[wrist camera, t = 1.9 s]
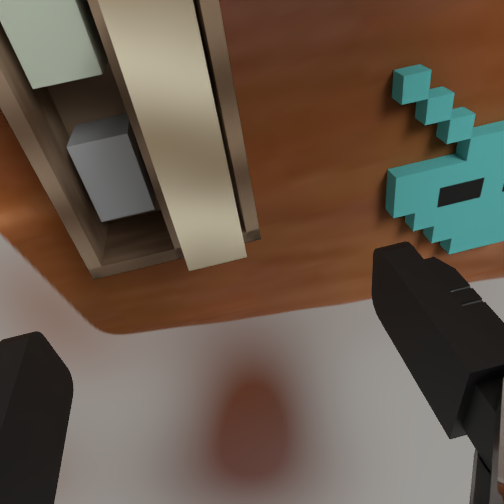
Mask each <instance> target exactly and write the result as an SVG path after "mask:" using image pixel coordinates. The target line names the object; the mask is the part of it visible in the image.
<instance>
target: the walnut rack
mask: <svg viewBox="0 0 504 504" xmlns="http://www.w3.org/2000/svg"><path fill="white" fill-rule="evenodd" d="M87 1H88V3H89V6H90V9H91V12H92V15H93V18H94V20H95V23H96V26H97V29H98V32H99V35H100V38H101V40H102V43H103V46H104V49H105V52H106V55H107V58H108V60H107V63H106V66H105V69H104V71H103V74H101V75H97V76H92V77H87V78H83V79H78V80H73V81H69V82H64V83H60V84H55V85H50V86H46V87H41V88H36V89H33V88H32V86H31V84H30V82H29V80H28V78H27V76H26V74H25V72H24V70H23V68H22V65H21V63H20V61H19V59H18V57H17V55H16V53H15V51H14V49H13V47H12V45H11V42H10V40H9V38H8V36H7V34H6V32H5V30H4V28H3V26H2V24H1V22H0V108H1V110H2V112H3V114H4V115H5V117H6V119H7V121H8V123H9V125H10V126H11V128H12V130H13V132H14V134H15V136H16V137H17V139H18V141H19V143H20V145H21V147H22V149H23V150H24V152H25V154H26V156H27V158H28V160H29V161H30V163H31V165H32V167H33V169H34V171H35V172H36V174H37V176H38V178H39V180H40V182H41V183H42V185H43V187H44V189H45V191H46V193H47V194H48V196H49V198H50V200H51V202H52V204H53V206H54V207H55V209H56V211H57V213H58V215H59V217H60V218H61V220H62V222H63V224H64V226H65V228H66V229H67V231H68V233H69V235H70V237H71V239H72V240H73V242H74V244H75V246H76V248H77V250H78V251H79V253H80V255H81V257H82V259H83V261H84V263H85V264H86V266H87V268H88V270H89V272H90V274H91V275H92V277H93V279H97V278H102V277H106V276H110V275H114V274H118V273H122V272H127V271H131V270H135V269H139V268H143V267H147V266H152V265H156V264H160V263H164V262H168V261H172V260H177V259H181V258H184V255H183V252H182V249H181V246H180V243H179V240H178V237H177V234H176V231H175V228H174V225H173V222H172V219H171V216H170V213H169V210H168V207H167V204H166V201H165V198H164V195H163V192H162V189H161V186H160V183H159V180H158V177H157V175H156V172H155V169H154V166H153V163H152V160H151V157H150V154H149V151H148V148H147V145H146V142H145V139H144V136H143V133H142V130H141V127H140V124H139V121H138V118H137V115H136V112H135V109H134V106H133V103H132V100H131V97H130V94H129V91H128V89H127V86H126V83H125V80H124V77H123V74H122V71H121V68H120V65H119V62H118V59H117V56H116V53H115V50H114V47H113V44H112V41H111V38H110V35H109V32H108V29H107V26H106V23H105V20H104V17H103V14H102V11H101V8H100V5H99V3H98V0H87ZM193 3H194V8H195V13H196V18H197V22H198V27H199V32H200V36H201V41H202V46H203V51H204V55H205V60H206V65H207V70H208V74H209V79H210V84H211V89H212V93H213V98H214V103H215V108H216V112H217V117H218V122H219V126H220V131H221V136H222V141H223V145H224V150H225V155H226V160H227V164H228V169H229V174H230V179H231V183H232V188H233V193H234V197H235V202H236V207H237V212H238V216H239V221H240V226H241V231H242V235H243V240H244V243H247V242H252V241H256V240H260V239H261V236H260V230H259V225H258V219H257V213H256V208H255V202H254V196H253V191H252V185H251V179H250V174H249V168H248V162H247V157H246V151H245V145H244V140H243V134H242V128H241V123H240V117H239V111H238V106H237V100H236V94H235V89H234V83H233V77H232V72H231V66H230V60H229V55H228V49H227V44H226V38H225V32H224V27H223V21H222V15H221V10H220V4H219V0H193ZM126 113H127V115H128V117H129V120H130V123H131V126H132V129H133V132H134V134H135V137H136V140H137V143H138V146H139V149H140V152H141V154H142V157H143V160H144V163H145V166H146V169H147V171H148V174H149V177H150V180H151V183H152V186H153V189H154V191H155V210H151V211H146V212H142V213H138V214H134V215H129V216H125V217H121V218H116V219H112V220H108V221H104V222H101V220H100V218H99V215H98V213H97V211H96V209H95V207H94V205H93V203H92V201H91V198H90V196H89V194H88V192H87V190H86V188H85V186H84V184H83V181H82V179H81V177H80V175H79V173H78V171H77V169H76V167H75V164H74V162H73V160H72V158H71V156H70V154H69V152H68V149H67V144H68V142H69V139H70V137H71V134H72V132H73V130H74V127H75V125H77V124H81V123H86V122H90V121H95V120H99V119H104V118H108V117H113V116H117V115H122V114H126Z"/></svg>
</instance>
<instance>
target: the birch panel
mask: <svg viewBox="0 0 504 504" xmlns="http://www.w3.org/2000/svg"><path fill="white" fill-rule="evenodd" d="M98 3H99V5H100V8H101V11H102V14H103V17H104V20H105V23H106V26H107V29H108V32H109V35H110V38H111V41H112V44H113V47H114V50H115V53H116V56H117V59H118V62H119V65H120V68H121V71H122V74H123V77H124V80H125V83H126V86H127V89H128V91H129V94H130V97H131V100H132V103H133V106H134V109H135V112H136V115H137V118H138V121H139V124H140V127H141V130H142V133H143V136H144V139H145V142H146V145H147V148H148V151H149V154H150V157H151V160H152V163H153V166H154V169H155V172H156V175H157V177H158V180H159V183H160V186H161V189H162V192H163V195H164V198H165V201H166V204H167V207H168V210H169V213H170V216H171V219H172V222H173V225H174V228H175V231H176V234H177V237H178V240H179V243H180V246H181V249H182V252H183V255H184V258H185V261H186V263H187V266H188V269H189V271H191V270H196V269H200V268H204V267H208V266H212V265H216V264H220V263H225V262H229V261H233V260H237V259H241V258H245V257H247V254H246V250H245V245H244V240H243V235H242V231H241V226H240V221H239V216H238V212H237V207H236V202H235V197H234V193H233V188H232V183H231V179H230V174H229V169H228V164H227V160H226V155H225V150H224V145H223V141H222V136H221V131H220V126H219V122H218V117H217V112H216V108H215V103H214V98H213V93H212V89H211V84H210V79H209V74H208V70H207V65H206V60H205V55H204V51H203V46H202V41H201V36H200V32H199V27H198V22H197V18H196V13H195V8H194V3H193V0H98Z"/></svg>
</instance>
